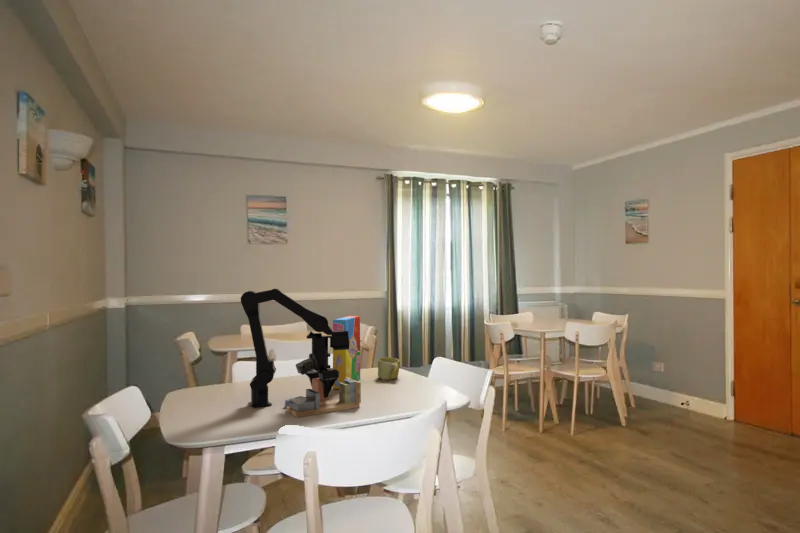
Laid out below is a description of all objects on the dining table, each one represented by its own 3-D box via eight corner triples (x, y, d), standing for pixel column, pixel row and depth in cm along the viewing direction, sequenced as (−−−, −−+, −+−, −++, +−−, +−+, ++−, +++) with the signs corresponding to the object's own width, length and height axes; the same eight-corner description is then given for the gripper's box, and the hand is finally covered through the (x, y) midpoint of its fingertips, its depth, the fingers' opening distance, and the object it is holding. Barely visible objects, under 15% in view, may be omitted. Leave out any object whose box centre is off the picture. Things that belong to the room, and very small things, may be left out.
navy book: (285, 406, 171) (285, 400, 171) (300, 402, 177) (300, 396, 177) (295, 409, 168) (295, 402, 168) (310, 404, 174) (310, 398, 174)
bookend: (288, 406, 166) (288, 391, 166) (310, 403, 170) (310, 388, 170) (298, 412, 159) (298, 396, 160) (320, 408, 164) (319, 393, 164)
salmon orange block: (312, 401, 179) (312, 378, 179) (322, 399, 181) (322, 377, 181) (318, 404, 175) (317, 381, 175) (328, 402, 177) (328, 379, 177)
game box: (345, 390, 195) (345, 319, 196) (332, 389, 196) (331, 319, 197) (360, 379, 216) (360, 315, 216) (348, 378, 217) (348, 315, 217)
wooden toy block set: (286, 410, 167) (286, 385, 167) (347, 400, 179) (346, 377, 179) (297, 417, 158) (297, 391, 158) (360, 406, 171) (360, 382, 171)
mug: (370, 371, 221) (378, 350, 221) (392, 377, 224) (400, 357, 223) (376, 383, 210) (384, 360, 209) (398, 388, 213) (406, 367, 212)
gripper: (288, 349, 181) (288, 393, 181) (309, 356, 166) (309, 404, 166) (317, 346, 187) (317, 389, 187) (339, 353, 172) (340, 399, 172)
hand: (320, 395), depth 178 cm, fingers open, 9 cm apart
